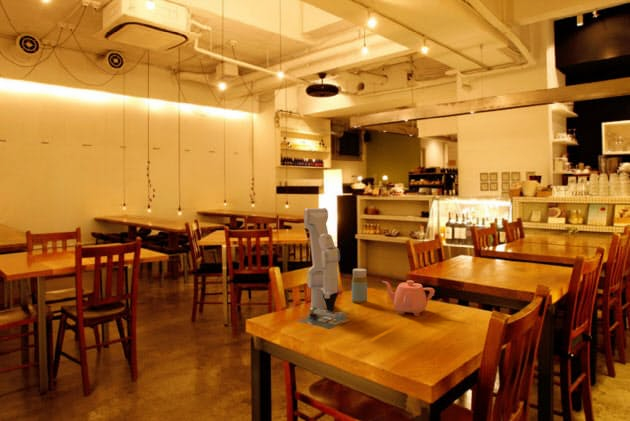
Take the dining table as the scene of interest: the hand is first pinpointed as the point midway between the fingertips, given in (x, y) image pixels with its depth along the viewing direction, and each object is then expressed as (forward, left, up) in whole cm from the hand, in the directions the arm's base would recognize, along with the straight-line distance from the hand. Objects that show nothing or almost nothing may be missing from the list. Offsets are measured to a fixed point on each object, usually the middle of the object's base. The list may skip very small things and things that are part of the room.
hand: (330, 311), depth 175 cm
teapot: (-27, +21, -3) cm, 34 cm away
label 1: (+5, +1, -2) cm, 5 cm away
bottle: (-29, -4, -3) cm, 29 cm away
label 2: (+5, +6, -2) cm, 8 cm away
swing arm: (+5, +1, -1) cm, 5 cm away
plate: (+6, +1, -3) cm, 7 cm away
